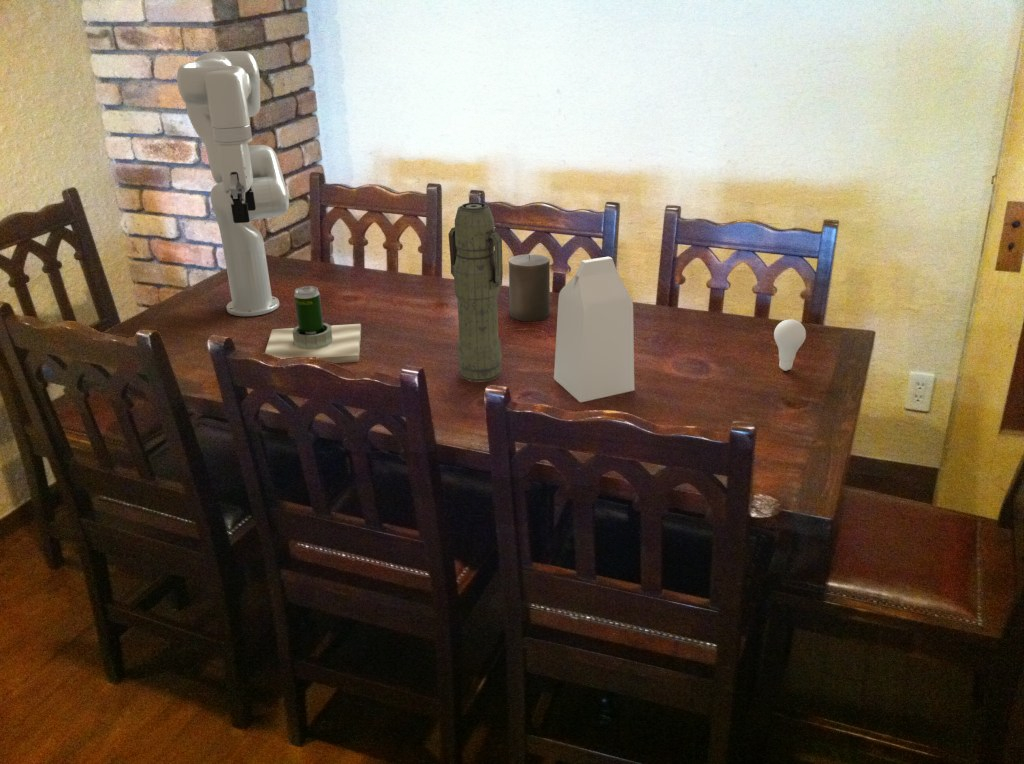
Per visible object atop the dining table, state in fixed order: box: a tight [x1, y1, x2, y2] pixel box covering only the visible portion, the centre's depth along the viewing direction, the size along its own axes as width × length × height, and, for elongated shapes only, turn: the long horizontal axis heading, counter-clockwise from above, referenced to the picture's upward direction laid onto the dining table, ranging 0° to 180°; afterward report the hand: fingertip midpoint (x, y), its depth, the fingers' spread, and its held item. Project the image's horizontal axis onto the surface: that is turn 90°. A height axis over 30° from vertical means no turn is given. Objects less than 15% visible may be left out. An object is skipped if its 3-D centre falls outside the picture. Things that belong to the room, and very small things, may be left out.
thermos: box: [448, 202, 504, 383], centre depth 170 cm, size 9×12×35 cm
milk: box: [553, 256, 635, 403], centre depth 167 cm, size 12×12×26 cm
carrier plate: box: [264, 322, 362, 364], centre depth 190 cm, size 18×20×4 cm
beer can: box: [293, 285, 324, 335], centre depth 188 cm, size 5×5×12 cm
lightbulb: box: [773, 318, 807, 372], centre depth 174 cm, size 6×6×11 cm
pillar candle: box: [508, 253, 551, 322], centre depth 204 cm, size 10×10×15 cm
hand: (245, 216), depth 185 cm, fingers open, 9 cm apart
